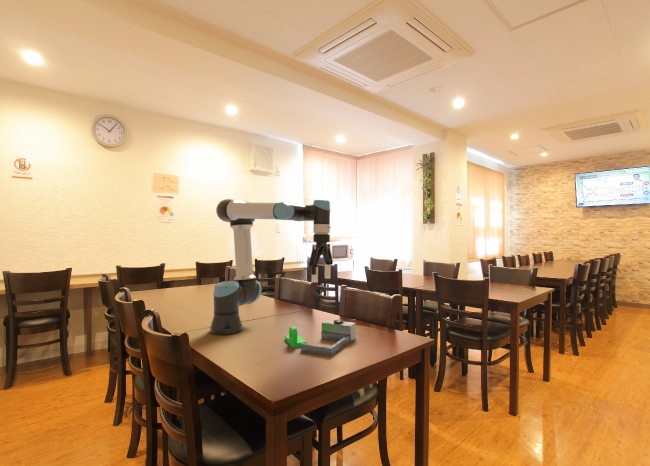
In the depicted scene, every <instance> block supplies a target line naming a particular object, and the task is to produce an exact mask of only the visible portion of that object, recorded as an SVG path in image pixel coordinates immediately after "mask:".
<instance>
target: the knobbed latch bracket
mask: <svg viewBox="0 0 650 466" xmlns="http://www.w3.org/2000/svg"><path fill="white" fill-rule="evenodd" d="M356 325H357V324H356V322H351V321H344V320H343V319H334V320H333V319H326V320H324V321H322V322H321V333H320V334H321V337H320V338H321V339H322V340H327V341H333V342H335V343H334V344H332V345H331V346H323V345H319V344H312V343H311V344H310V343H307V344H305V343H302V344H301V347H300V352H301V353H309V354H313V355H320V356H326V357H333V356H334V355H335V354H337V353H338V352H339V351H341V350H342V349H343V348H345V347H346V346H347V345H349V344H350V343H352V342H353V341H355V340H356V337H357V335H356V330H357V329H356Z"/></svg>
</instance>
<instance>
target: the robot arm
mask: <svg viewBox="0 0 650 466" xmlns="http://www.w3.org/2000/svg"><path fill="white" fill-rule="evenodd" d="M215 210H216V215H217V217H218V218H219V219H220V220H221V221H223V222H227V223H229V225H230V226H229V227H230V228H231V229H232V230H233V242H234V243H233V244H234V259H235V277H234V278H233V280H227V281H221V282H218V283H216V284H215V285H214V288H213V317H212V321H211V325H210V328H209V332H210V334H212V335H215V336H216V335H217V336H226V335H234V334H237V333H240V332H242V331H243V322H242V320H241V317H240V309H239V308H240V307H241V306H245V305H248V304H249V305H250V304H253V303H254V302H257V301H258V300H259V299H260V297H261V294H262V286H261V285H262V284H260V282H259V281H258V280H257V276H256V275H254V267H253V265H254V264H253V255H252V254H253V253H252V235H251V229H252V227H253V226H254V222H255V220H277V221H278V220H279V221H294V222H313V231H312V233H313V237H312V238H313V239H312V240H313V243H316V244H312V248H311V253H310V258H309V261H308V262H309V263H308V267H309V268H311V283H318V282H319V278H318V277H319V267H318V265H319V261H320V259H321V256H322V258H323V260H324V263H325V264H324V279H330V280H331V265H333V262H334V261H333V257H332V255H333V254H332V252H331V244H330V242H331V239H330V238H331V236H330V233H331V225H330V224H331V222H330V221H331V202H330V201H329V200H328V199H315V200H313V204H298V203H291V202H287V201H286V202H285V201H281V202H250V201H247V200H241V199H239V200H237V199H231V198H227V199H223V200H221V201H219V202H218V204H217V206H216V209H215Z"/></svg>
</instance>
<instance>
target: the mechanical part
mask: <svg viewBox="0 0 650 466" xmlns="http://www.w3.org/2000/svg"><path fill="white" fill-rule="evenodd" d="M284 337H285V338H284V340H285V341H286V342H287V343H288V345H289V346H290V347H291V348H292V349H296V348H301V344H302V343H305V344H308V343H307V342H308V341H306V340H305V339H304V338H303V337H302V336H301V335H299V334H298V330H297V327H296V326H290V327H289V329H288V335H287V334H285V336H284Z"/></svg>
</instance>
